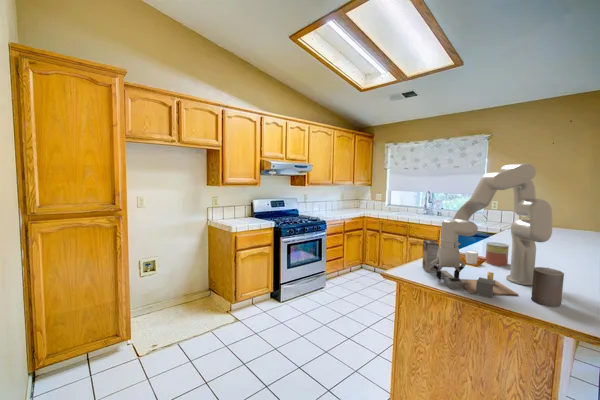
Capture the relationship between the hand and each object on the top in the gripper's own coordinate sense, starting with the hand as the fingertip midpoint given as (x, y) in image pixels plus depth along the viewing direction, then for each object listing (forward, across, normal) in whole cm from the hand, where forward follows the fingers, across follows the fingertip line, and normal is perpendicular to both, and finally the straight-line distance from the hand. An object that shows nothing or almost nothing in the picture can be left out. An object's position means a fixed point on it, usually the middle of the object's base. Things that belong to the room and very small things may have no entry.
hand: (447, 278), depth 144 cm
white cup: (+1, -27, -33) cm, 43 cm away
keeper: (+1, -10, +15) cm, 18 cm away
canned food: (+1, -42, -34) cm, 54 cm away
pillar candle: (+1, -31, +22) cm, 38 cm away
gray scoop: (+1, 0, +3) cm, 3 cm away
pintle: (+1, -18, +4) cm, 19 cm away
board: (+1, -14, +8) cm, 16 cm away
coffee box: (+1, +3, -17) cm, 17 cm away
